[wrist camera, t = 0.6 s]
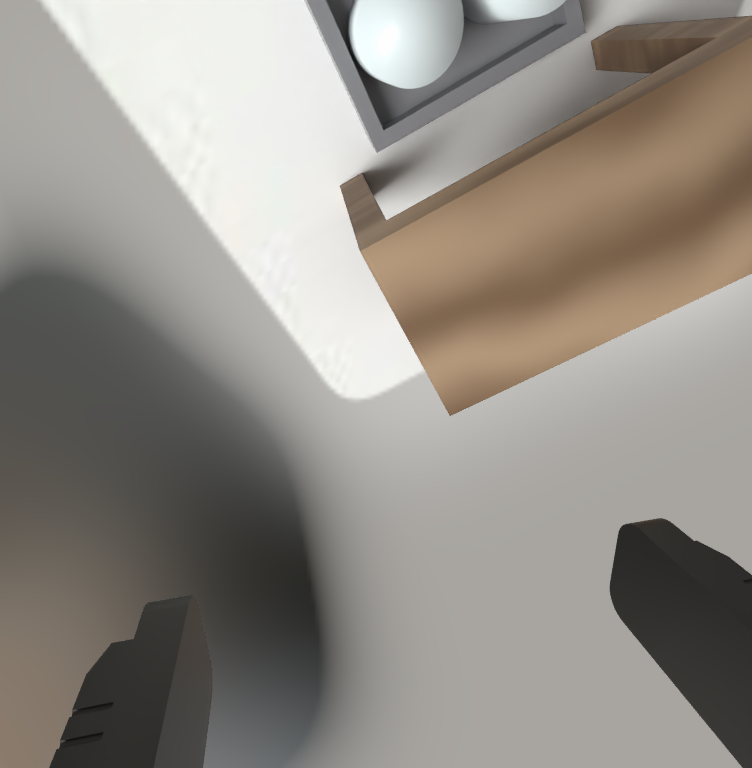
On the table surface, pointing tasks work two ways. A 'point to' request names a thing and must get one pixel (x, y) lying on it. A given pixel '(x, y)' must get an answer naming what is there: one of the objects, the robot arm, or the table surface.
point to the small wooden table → (579, 218)
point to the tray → (456, 80)
